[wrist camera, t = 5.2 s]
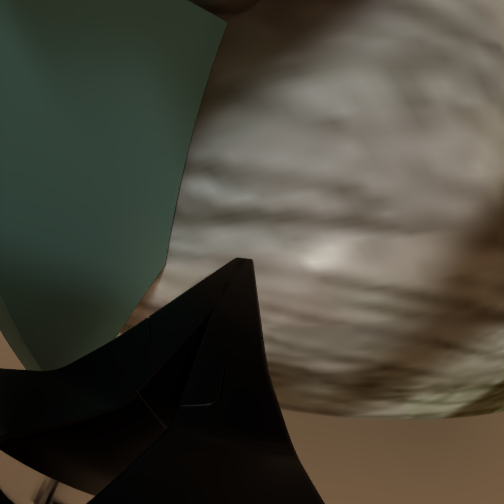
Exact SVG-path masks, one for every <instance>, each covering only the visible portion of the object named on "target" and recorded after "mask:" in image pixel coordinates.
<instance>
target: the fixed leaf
mask: <svg viewBox="0 0 504 504" xmlns="http://www.w3.org/2000/svg"><path fill="white" fill-rule="evenodd" d="M187 1H189V2H191V3H193V4H195V5H197V6H199V7H201V8H203V9H204V10H206V11H208V12H211V13H215V14H233V13H237V12H241V11H243V10H246V9H248V8H250V7H252V6H253V5H255V4H256V3H257V2H259V1H260V0H187Z"/></svg>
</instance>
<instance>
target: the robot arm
mask: <svg viewBox="0 0 504 504" xmlns="http://www.w3.org/2000/svg"><path fill="white" fill-rule="evenodd" d="M0 504H325V503H324V502H323V500H322V498H321V496H320V495H319V493H318V492H317V490H316V488H315V486H314V485H313V483H312V481H311V480H310V478H309V476H308V474H307V473H306V471H305V469H304V467H303V465H302V464H301V462H300V460H299V458H298V456H297V454H296V451H295V449H294V447H293V444H292V442H291V439H290V436H289V433H288V431H287V428H286V425H285V422H284V419H283V416H282V412H281V409H280V406H279V403H278V400H277V397H276V394H275V391H274V388H273V384H272V381H271V377H270V374H269V370H268V365H267V359H266V353H265V346H264V341H263V332H262V325H261V317H260V309H259V302H258V294H257V287H256V279H255V271H254V264H253V260H252V259H246V258H235V259H233V260H232V261H230V262H229V263H227V264H226V265H224V266H223V267H221V268H220V269H218V270H217V271H215V272H214V273H212V274H211V275H209V276H208V277H206V278H205V279H204V280H202V281H201V282H199V283H198V284H196V285H195V286H193V287H192V288H190V289H189V290H187V291H186V292H184V293H183V294H181V295H180V296H179V297H177V298H176V299H174V300H173V301H171V302H170V303H168V304H167V305H165V306H164V307H162V308H161V309H159V310H158V311H156V312H155V313H154V314H152V315H151V316H149V318H146V319H145V320H143V321H142V322H140V323H139V324H137V325H136V326H134V327H133V328H131V329H130V330H128V331H127V332H125V333H123V334H122V335H120V336H118V337H117V338H115V339H113V340H112V341H110V342H108V343H106V344H105V345H103V346H101V347H99V348H98V349H96V350H94V351H92V352H90V353H88V354H87V355H85V356H83V357H81V358H79V359H78V360H76V361H74V362H72V363H70V364H68V365H66V366H64V367H61V368H58V369H54V370H47V371H36V370H16V369H2V368H0Z"/></svg>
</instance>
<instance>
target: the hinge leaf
mask: <svg viewBox="0 0 504 504" xmlns="http://www.w3.org/2000/svg"><path fill="white" fill-rule="evenodd" d="M226 26H227V22H225V21H224V20H222V19H220V18H219V17H217V16H215V15H213V14H212V13H210V12H208V11H206V10H204V9H203V8H201V7H199V6H197V5H195V4H193V3H191V2H189V1H187V0H0V331H1V332H2V334H3V336H4V337H5V339H6V341H7V342H8V344H9V345H10V347H11V348H12V350H13V351H14V353H15V354H16V356H17V357H18V359H19V360H20V362H21V363H22V364H23V366H24V367H25V369H26V370H36V371H47V370H54V369H58V368H61V367H64V366H66V365H68V364H70V363H72V362H74V361H76V360H78V359H79V358H81V357H83V356H85V355H87V354H88V353H90V352H92V351H94V350H96V349H98V348H99V347H101V346H103V345H105V344H106V343H108V342H110V341H112V340H113V339H115V338H116V337H117V335H118V334H119V332H120V330H121V329H122V327H123V326H124V324H125V323H126V321H127V320H128V318H129V317H130V315H131V314H132V312H133V311H134V309H135V308H136V306H137V305H138V303H139V302H140V300H141V299H142V297H143V296H144V294H145V293H146V291H147V290H148V289H149V287H150V286H151V284H152V283H153V281H154V280H155V279H156V277H157V276H158V274H159V273H160V271H161V270H162V269H163V267H164V266H165V263H166V257H167V251H168V245H169V239H170V233H171V228H172V222H173V217H174V212H175V207H176V202H177V197H178V192H179V188H180V183H181V178H182V174H183V170H184V165H185V161H186V157H187V153H188V149H189V145H190V141H191V137H192V133H193V129H194V126H195V122H196V118H197V115H198V111H199V108H200V104H201V101H202V97H203V94H204V91H205V87H206V84H207V81H208V78H209V74H210V71H211V68H212V65H213V62H214V59H215V56H216V53H217V50H218V48H219V45H220V42H221V39H222V36H223V34H224V31H225V28H226Z"/></svg>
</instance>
